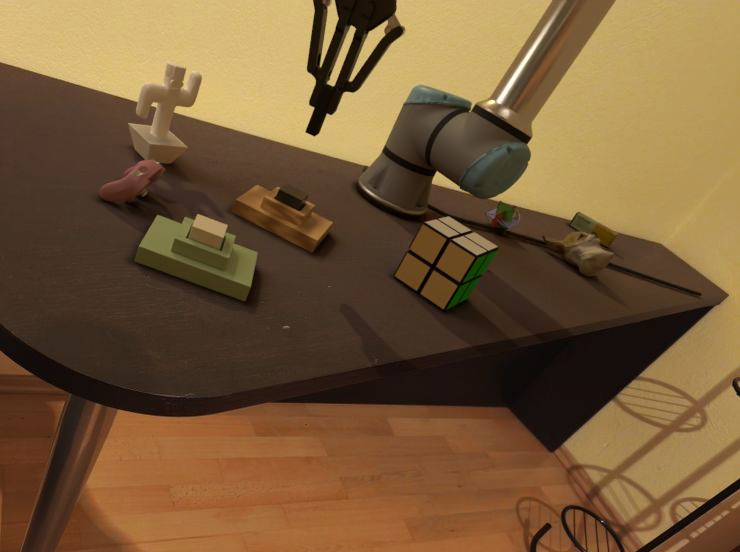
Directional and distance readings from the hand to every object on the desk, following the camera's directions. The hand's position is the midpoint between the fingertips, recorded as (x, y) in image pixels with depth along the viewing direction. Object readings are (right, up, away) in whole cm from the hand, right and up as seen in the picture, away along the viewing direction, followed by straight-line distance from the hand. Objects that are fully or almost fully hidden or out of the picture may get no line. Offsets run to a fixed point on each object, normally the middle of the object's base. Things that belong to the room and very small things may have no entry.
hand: (312, 132), depth 90 cm
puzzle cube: (+20, -21, +13) cm, 31 cm away
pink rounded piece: (-26, -10, -1) cm, 27 cm away
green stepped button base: (-15, -20, -9) cm, 27 cm away
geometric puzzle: (+44, -4, +53) cm, 69 cm away
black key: (-3, -8, +9) cm, 13 cm away
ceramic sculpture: (+62, -11, +54) cm, 83 cm away
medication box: (+80, 0, +83) cm, 115 cm away
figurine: (-25, +1, +14) cm, 29 cm away
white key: (-14, -17, -11) cm, 25 cm away
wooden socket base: (-4, -11, +11) cm, 16 cm away
